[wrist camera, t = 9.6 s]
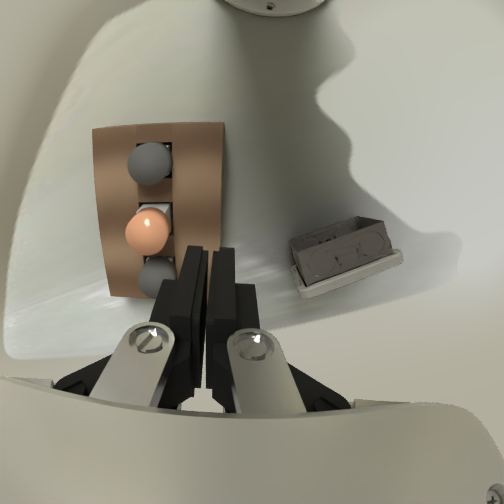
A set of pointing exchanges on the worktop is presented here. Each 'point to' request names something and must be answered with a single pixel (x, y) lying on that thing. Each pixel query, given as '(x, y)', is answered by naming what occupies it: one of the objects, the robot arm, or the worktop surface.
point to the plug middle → (150, 227)
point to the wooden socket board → (158, 195)
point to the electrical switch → (341, 255)
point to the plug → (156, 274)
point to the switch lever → (150, 162)
